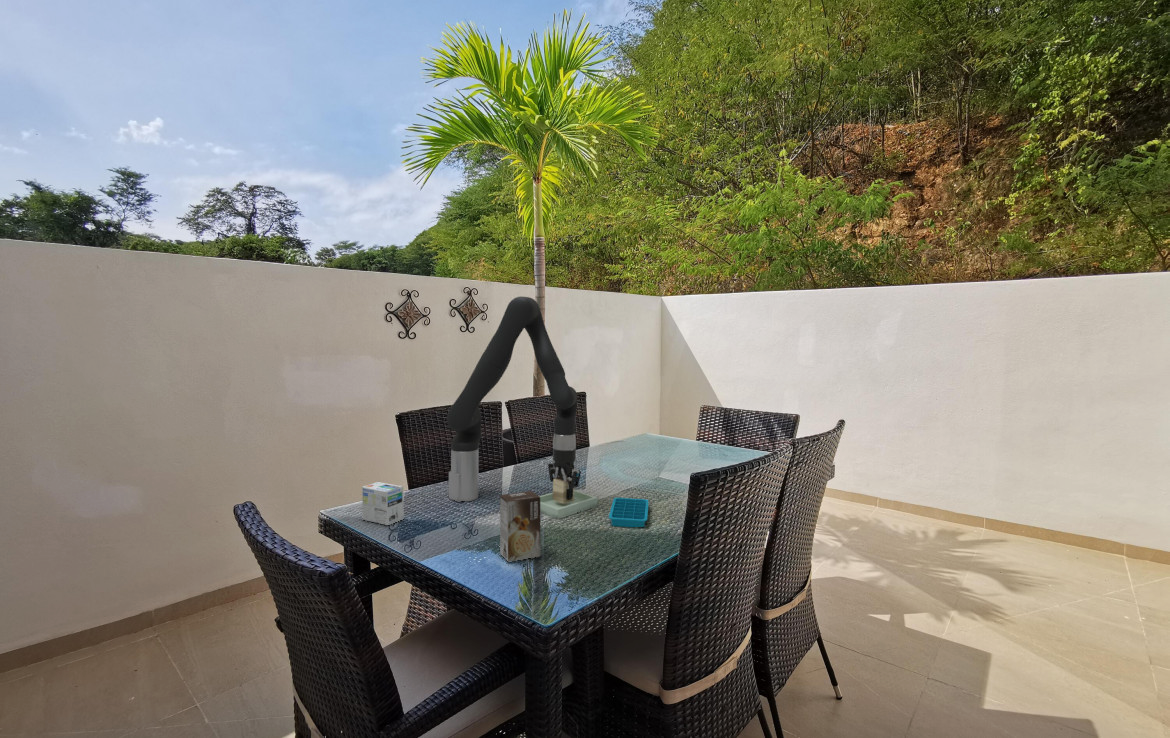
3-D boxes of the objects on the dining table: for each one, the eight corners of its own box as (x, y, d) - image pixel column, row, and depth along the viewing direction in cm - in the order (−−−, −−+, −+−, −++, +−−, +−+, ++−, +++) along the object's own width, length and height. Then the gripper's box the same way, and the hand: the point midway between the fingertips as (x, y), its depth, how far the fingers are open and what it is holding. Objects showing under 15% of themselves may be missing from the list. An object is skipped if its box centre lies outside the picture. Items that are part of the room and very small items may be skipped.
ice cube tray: (648, 508, 177) (648, 499, 177) (646, 530, 157) (647, 520, 157) (613, 505, 179) (614, 497, 179) (608, 527, 159) (608, 518, 159)
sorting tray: (557, 519, 164) (557, 509, 164) (529, 507, 174) (529, 499, 174) (597, 506, 177) (597, 497, 177) (568, 496, 187) (568, 488, 187)
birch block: (563, 503, 172) (563, 482, 172) (552, 499, 176) (553, 478, 175) (574, 500, 176) (574, 479, 175) (563, 496, 179) (564, 476, 179)
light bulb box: (404, 520, 162) (404, 485, 161) (388, 527, 156) (387, 491, 155) (378, 514, 166) (378, 480, 165) (361, 521, 160) (361, 486, 159)
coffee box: (531, 548, 143) (532, 489, 141) (541, 557, 137) (541, 496, 136) (499, 554, 138) (499, 494, 137) (507, 564, 133) (507, 501, 132)
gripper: (541, 444, 177) (541, 494, 178) (571, 452, 167) (570, 505, 168) (558, 441, 182) (557, 490, 183) (587, 449, 172) (586, 500, 173)
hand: (563, 497), depth 176 cm, fingers closed on birch block, 5 cm apart
